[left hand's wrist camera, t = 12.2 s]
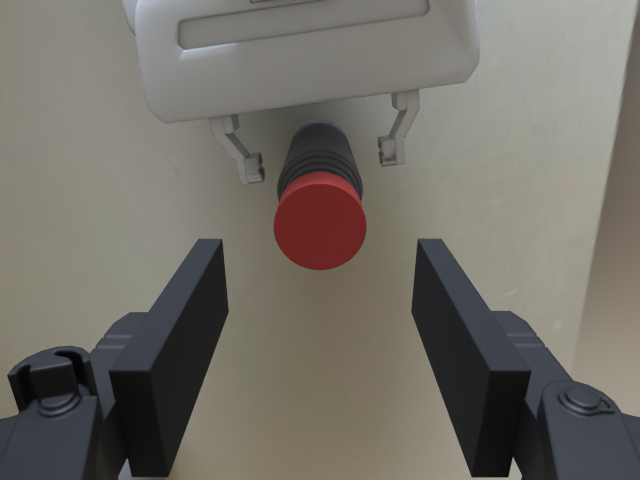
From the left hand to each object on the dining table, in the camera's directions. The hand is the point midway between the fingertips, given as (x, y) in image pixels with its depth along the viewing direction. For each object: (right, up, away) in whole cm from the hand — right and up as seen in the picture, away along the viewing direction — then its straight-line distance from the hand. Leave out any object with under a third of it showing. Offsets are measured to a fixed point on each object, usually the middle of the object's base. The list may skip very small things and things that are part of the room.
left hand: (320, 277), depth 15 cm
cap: (0, +2, +5) cm, 5 cm away
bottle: (0, +8, +21) cm, 23 cm away
